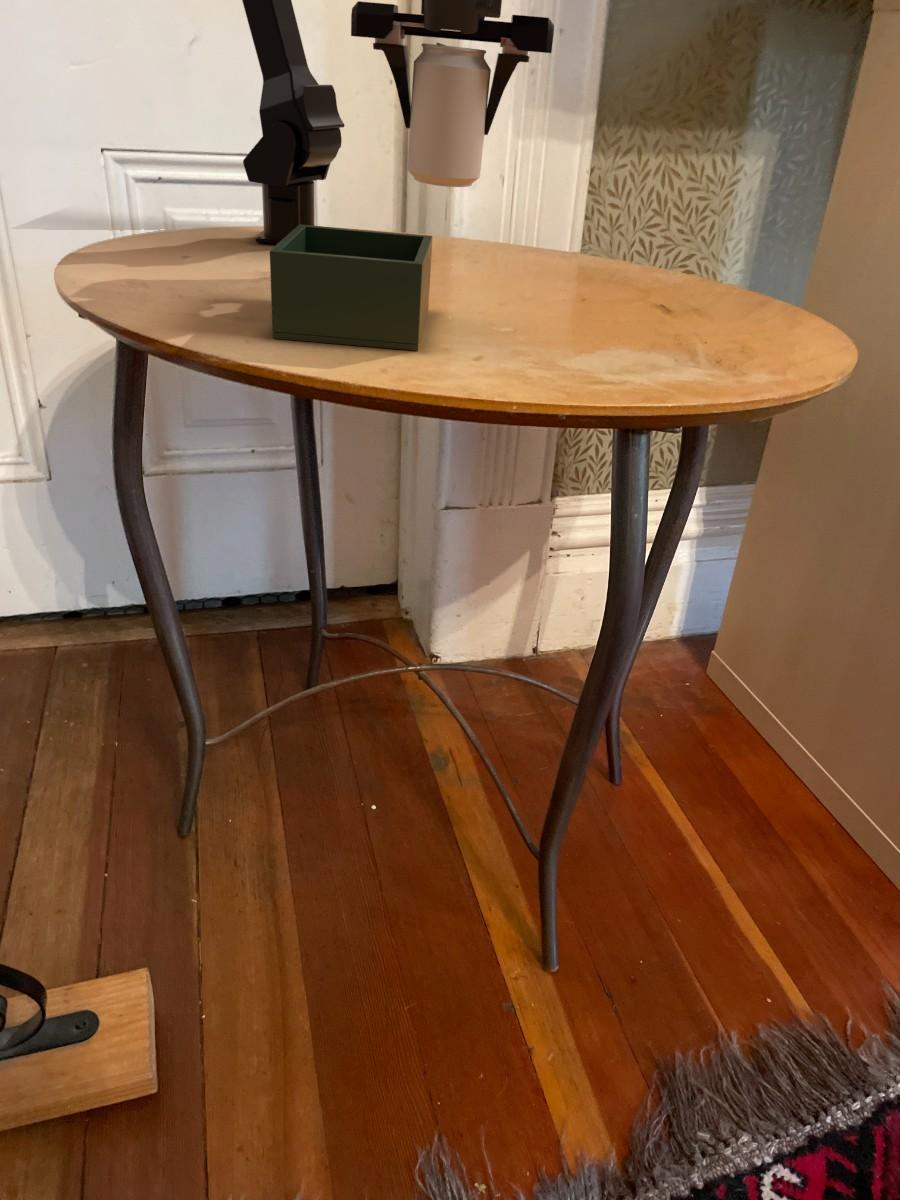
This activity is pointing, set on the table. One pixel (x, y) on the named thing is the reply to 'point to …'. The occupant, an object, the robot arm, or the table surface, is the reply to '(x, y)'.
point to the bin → (351, 287)
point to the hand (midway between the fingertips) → (446, 131)
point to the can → (448, 115)
